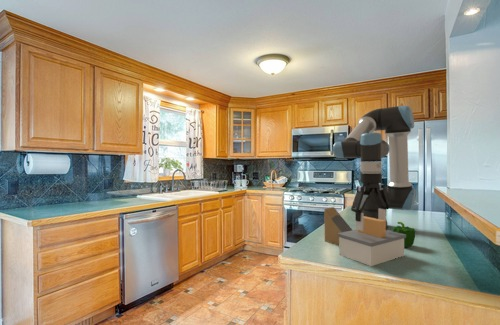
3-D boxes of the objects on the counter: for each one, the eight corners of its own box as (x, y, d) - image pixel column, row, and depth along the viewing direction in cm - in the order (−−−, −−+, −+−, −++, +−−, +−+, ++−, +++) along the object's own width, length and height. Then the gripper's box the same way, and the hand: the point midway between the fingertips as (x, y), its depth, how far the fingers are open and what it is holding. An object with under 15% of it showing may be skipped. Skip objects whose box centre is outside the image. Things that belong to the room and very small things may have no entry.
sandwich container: (357, 249, 112) (357, 213, 112) (324, 241, 123) (324, 208, 123) (365, 244, 118) (365, 210, 118) (333, 237, 129) (333, 206, 129)
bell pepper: (419, 248, 112) (419, 224, 112) (400, 249, 112) (400, 225, 111) (406, 242, 120) (406, 220, 120) (389, 243, 120) (388, 220, 120)
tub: (371, 245, 116) (371, 229, 116) (404, 255, 104) (404, 237, 104) (339, 254, 106) (339, 236, 106) (371, 266, 94) (371, 246, 94)
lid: (371, 231, 117) (371, 212, 117) (406, 240, 104) (406, 218, 104) (337, 239, 106) (337, 218, 106) (371, 249, 93) (371, 225, 93)
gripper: (358, 174, 95) (358, 234, 95) (399, 172, 108) (399, 225, 108) (341, 173, 102) (341, 229, 102) (381, 171, 114) (382, 221, 114)
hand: (371, 227), depth 105 cm, fingers open, 13 cm apart
